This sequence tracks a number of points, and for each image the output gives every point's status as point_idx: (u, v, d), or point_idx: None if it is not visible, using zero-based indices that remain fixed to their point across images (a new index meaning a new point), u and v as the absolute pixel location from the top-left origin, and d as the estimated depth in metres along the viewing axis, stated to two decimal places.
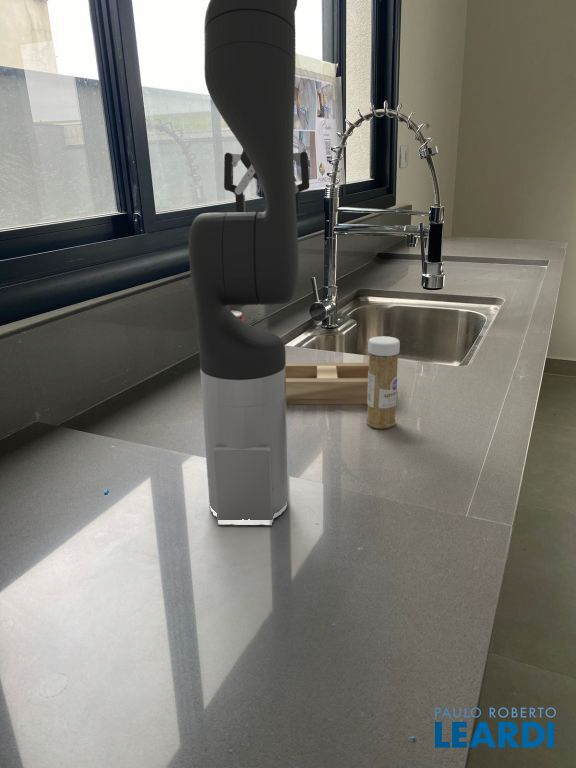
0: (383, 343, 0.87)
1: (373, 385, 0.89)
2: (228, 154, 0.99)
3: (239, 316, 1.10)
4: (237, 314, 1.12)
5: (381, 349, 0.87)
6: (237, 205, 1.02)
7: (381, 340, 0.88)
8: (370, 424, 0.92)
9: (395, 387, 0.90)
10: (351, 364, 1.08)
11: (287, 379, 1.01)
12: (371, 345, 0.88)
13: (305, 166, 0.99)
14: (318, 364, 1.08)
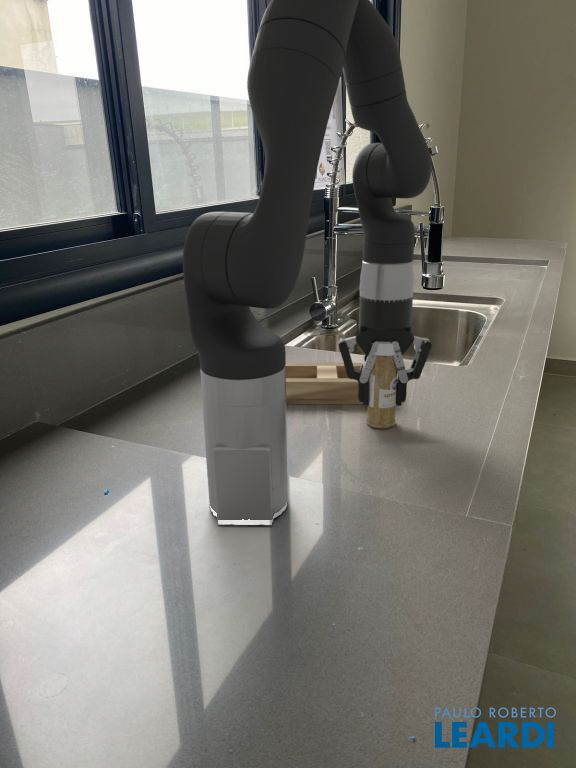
0: (383, 343, 0.87)
1: (373, 385, 0.89)
2: (342, 343, 0.88)
3: None
4: None
5: (381, 349, 0.87)
6: (360, 393, 0.91)
7: None
8: (370, 424, 0.92)
9: (395, 387, 0.90)
10: None
11: (287, 379, 1.01)
12: None
13: (424, 356, 0.88)
14: (318, 364, 1.08)
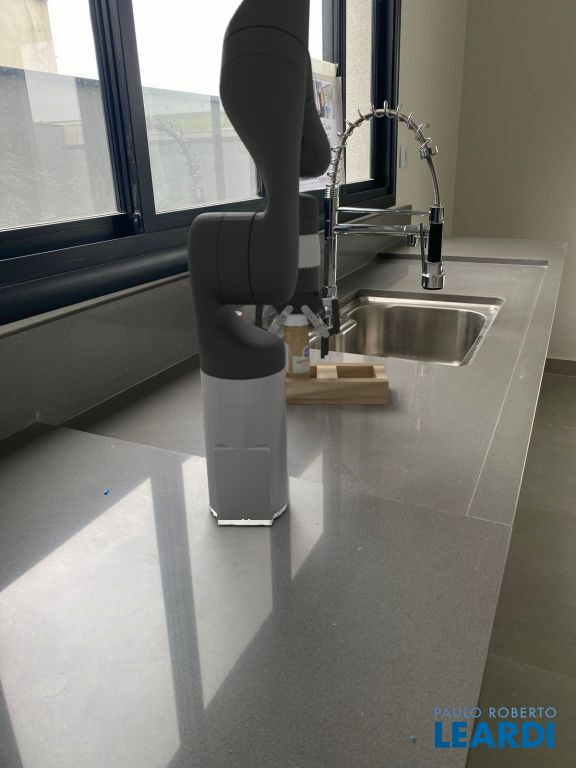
0: (293, 315, 0.99)
1: (288, 352, 1.01)
2: None
3: None
4: None
5: (292, 320, 0.99)
6: None
7: None
8: None
9: (307, 354, 1.02)
10: (351, 364, 1.08)
11: (287, 379, 1.01)
12: None
13: (336, 312, 0.99)
14: (318, 364, 1.08)
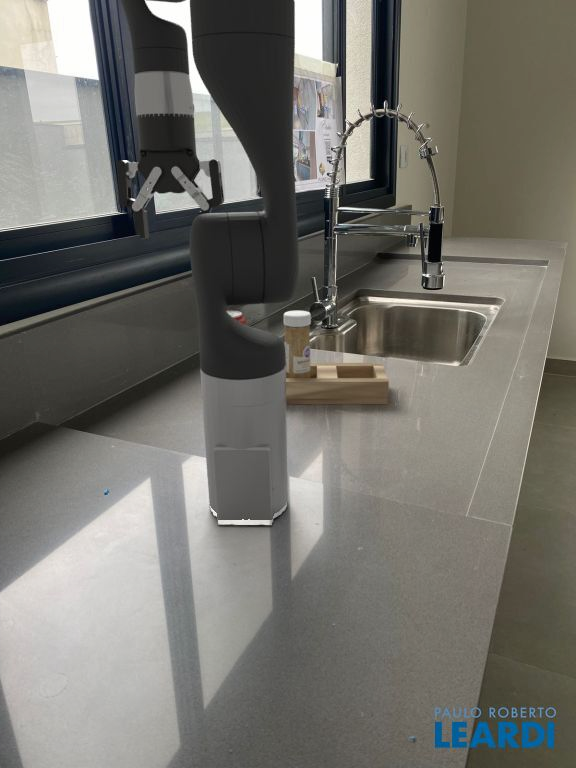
0: (294, 315, 0.99)
1: (288, 353, 1.01)
2: (121, 162, 0.81)
3: (239, 316, 1.10)
4: (237, 314, 1.12)
5: (293, 321, 0.99)
6: (136, 224, 0.84)
7: (294, 313, 1.00)
8: None
9: (308, 355, 1.02)
10: (351, 364, 1.08)
11: (287, 379, 1.01)
12: (285, 317, 1.00)
13: (215, 177, 0.81)
14: (318, 364, 1.08)
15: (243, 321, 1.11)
